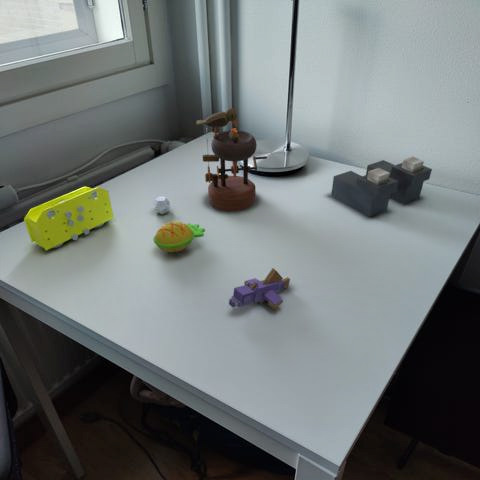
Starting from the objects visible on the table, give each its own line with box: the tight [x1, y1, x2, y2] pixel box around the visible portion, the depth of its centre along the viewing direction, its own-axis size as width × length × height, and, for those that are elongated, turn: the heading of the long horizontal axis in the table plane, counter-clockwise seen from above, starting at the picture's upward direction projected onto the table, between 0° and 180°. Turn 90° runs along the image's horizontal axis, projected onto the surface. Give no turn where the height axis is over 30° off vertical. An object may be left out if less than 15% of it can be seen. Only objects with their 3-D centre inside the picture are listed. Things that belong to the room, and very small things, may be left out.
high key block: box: [330, 170, 398, 218], centre depth 99 cm, size 13×6×7 cm, turn 34°
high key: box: [367, 168, 390, 185], centre depth 94 cm, size 3×3×2 cm
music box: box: [195, 107, 268, 212], centre depth 98 cm, size 15×11×20 cm
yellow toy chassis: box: [23, 186, 115, 251], centre depth 90 cm, size 16×6×8 cm, turn 140°
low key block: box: [365, 159, 433, 205], centre depth 104 cm, size 13×6×7 cm, turn 34°
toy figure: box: [228, 267, 291, 310], centre depth 75 cm, size 12×8×5 cm
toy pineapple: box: [152, 221, 206, 253], centre depth 87 cm, size 7×10×5 cm
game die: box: [152, 196, 171, 215], centre depth 99 cm, size 4×4×3 cm
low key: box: [402, 156, 425, 173], centre depth 99 cm, size 3×3×2 cm
